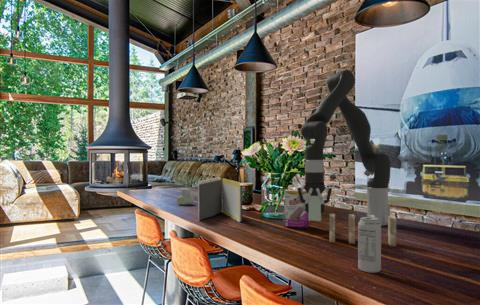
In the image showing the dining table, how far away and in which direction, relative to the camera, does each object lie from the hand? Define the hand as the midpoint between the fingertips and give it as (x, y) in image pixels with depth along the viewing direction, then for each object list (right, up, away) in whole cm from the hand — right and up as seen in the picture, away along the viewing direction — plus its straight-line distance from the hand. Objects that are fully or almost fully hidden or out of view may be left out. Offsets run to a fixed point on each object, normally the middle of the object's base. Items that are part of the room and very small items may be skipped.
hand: (314, 212), depth 148 cm
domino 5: (+25, -9, -16) cm, 31 cm away
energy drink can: (+6, -9, -46) cm, 47 cm away
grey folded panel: (-43, -9, +40) cm, 59 cm away
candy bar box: (-5, -9, +16) cm, 19 cm away
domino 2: (+4, -9, -10) cm, 14 cm away
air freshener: (-65, -9, +86) cm, 109 cm away
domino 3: (+11, -9, -12) cm, 19 cm away
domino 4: (+18, -9, -14) cm, 24 cm away
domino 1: (0, -3, 0) cm, 3 cm away
